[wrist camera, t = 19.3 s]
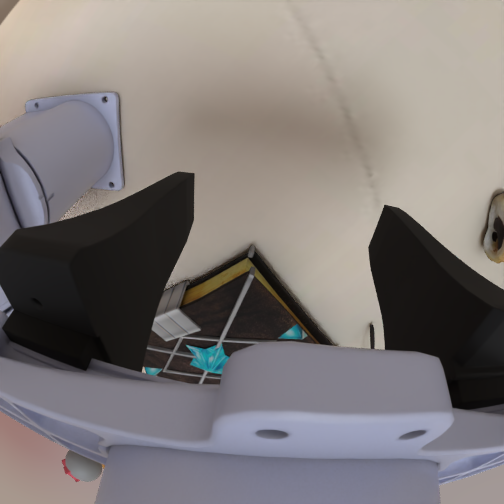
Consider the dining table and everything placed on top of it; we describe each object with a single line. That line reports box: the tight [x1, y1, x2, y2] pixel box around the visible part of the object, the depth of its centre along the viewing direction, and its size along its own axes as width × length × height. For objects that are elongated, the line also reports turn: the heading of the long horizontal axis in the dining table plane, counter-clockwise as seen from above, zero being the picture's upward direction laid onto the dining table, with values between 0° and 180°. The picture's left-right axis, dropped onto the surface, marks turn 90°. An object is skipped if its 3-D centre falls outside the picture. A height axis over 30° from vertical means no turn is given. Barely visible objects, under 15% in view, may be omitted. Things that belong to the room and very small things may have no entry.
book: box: [143, 245, 333, 385], centre depth 32 cm, size 22×17×5 cm
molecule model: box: [62, 450, 105, 482], centre depth 45 cm, size 25×21×6 cm
